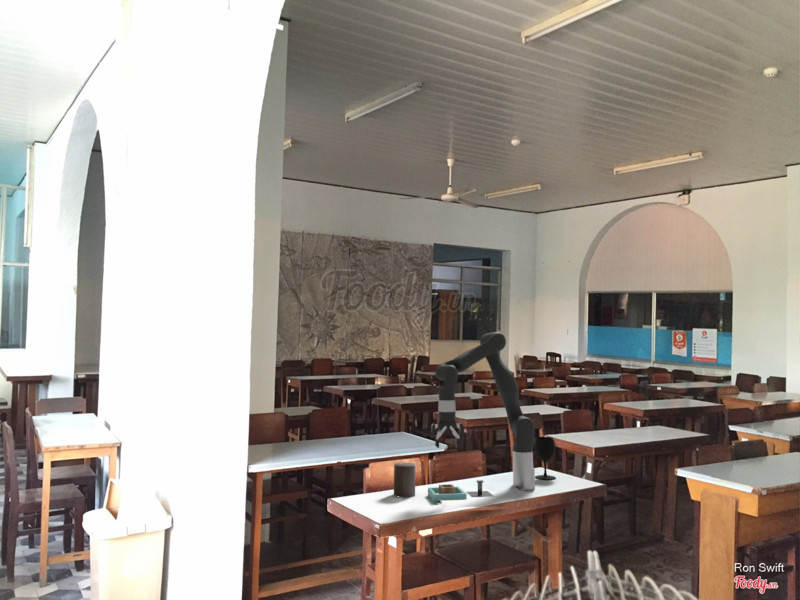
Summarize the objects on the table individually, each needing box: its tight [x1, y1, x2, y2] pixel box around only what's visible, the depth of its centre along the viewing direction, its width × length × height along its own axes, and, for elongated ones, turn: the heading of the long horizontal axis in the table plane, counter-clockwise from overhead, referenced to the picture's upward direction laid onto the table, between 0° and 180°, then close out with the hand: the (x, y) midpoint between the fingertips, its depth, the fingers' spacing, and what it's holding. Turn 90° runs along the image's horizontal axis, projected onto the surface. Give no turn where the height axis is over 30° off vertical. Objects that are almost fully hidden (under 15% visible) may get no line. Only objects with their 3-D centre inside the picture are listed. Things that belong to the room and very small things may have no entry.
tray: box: [427, 486, 468, 504], centre depth 279 cm, size 14×14×4 cm
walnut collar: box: [438, 483, 456, 494], centre depth 279 cm, size 6×6×4 cm
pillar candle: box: [393, 461, 417, 498], centre depth 286 cm, size 10×10×15 cm
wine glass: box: [533, 436, 557, 481], centre depth 322 cm, size 10×10×20 cm
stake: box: [466, 479, 494, 498], centre depth 281 cm, size 10×10×7 cm
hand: (447, 447), depth 280 cm, fingers open, 8 cm apart
